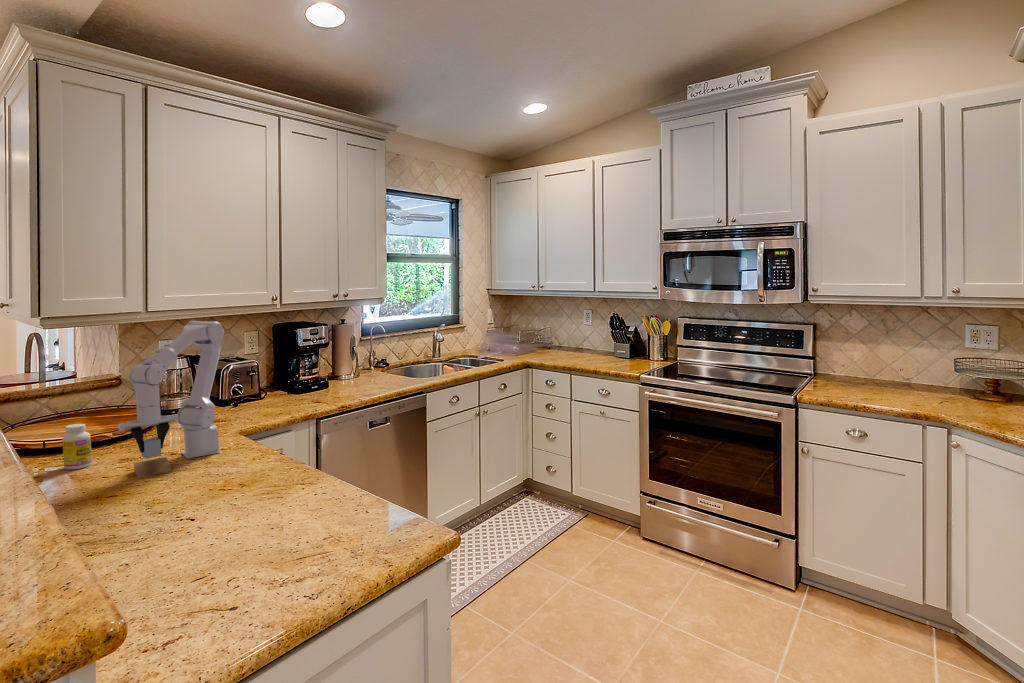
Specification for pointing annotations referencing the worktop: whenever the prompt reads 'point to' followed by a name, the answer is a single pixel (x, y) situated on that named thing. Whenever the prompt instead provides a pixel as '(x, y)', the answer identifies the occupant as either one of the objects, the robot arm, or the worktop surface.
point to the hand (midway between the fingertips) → (151, 449)
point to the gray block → (151, 447)
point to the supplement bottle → (76, 447)
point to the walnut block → (152, 467)
